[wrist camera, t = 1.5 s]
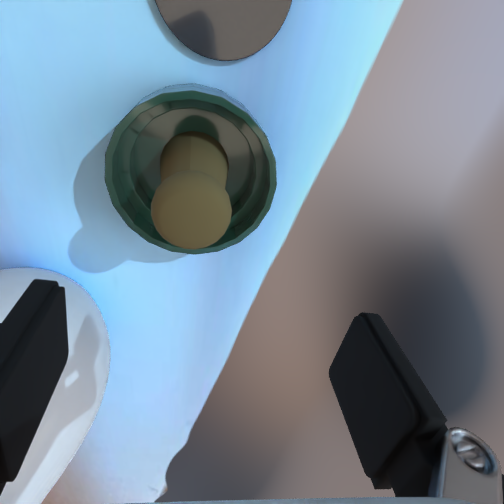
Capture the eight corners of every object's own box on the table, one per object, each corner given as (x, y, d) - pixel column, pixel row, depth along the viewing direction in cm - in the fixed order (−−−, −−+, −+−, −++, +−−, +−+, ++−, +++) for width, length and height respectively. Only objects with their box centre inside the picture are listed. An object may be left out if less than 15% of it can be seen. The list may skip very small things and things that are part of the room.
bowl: (115, 218, 32) (103, 242, 28) (120, 64, 26) (106, 69, 22) (249, 238, 35) (254, 262, 31) (284, 104, 29) (296, 115, 25)
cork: (219, 204, 32) (225, 271, 23) (154, 189, 31) (133, 253, 22) (237, 142, 29) (252, 190, 20) (166, 121, 28) (148, 163, 19)
